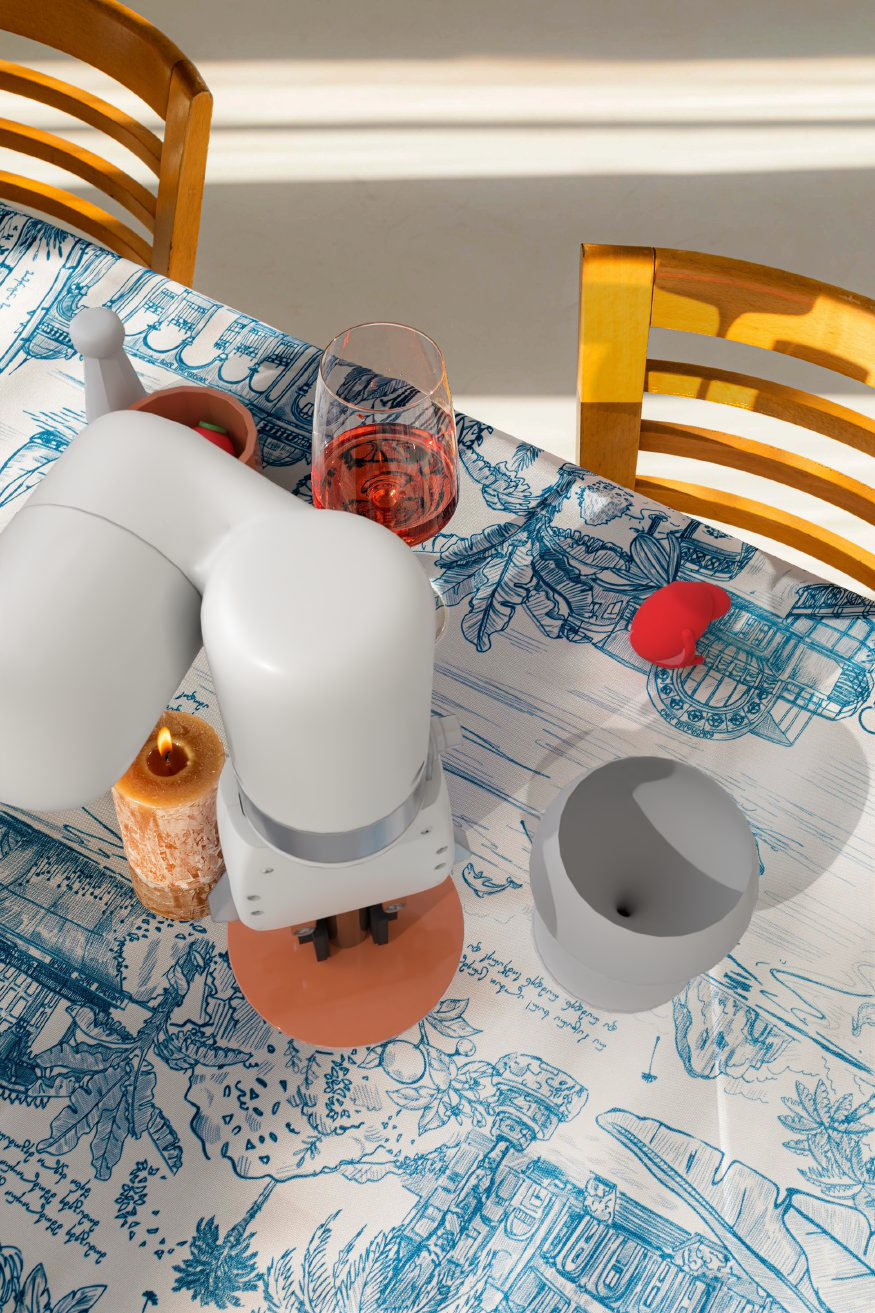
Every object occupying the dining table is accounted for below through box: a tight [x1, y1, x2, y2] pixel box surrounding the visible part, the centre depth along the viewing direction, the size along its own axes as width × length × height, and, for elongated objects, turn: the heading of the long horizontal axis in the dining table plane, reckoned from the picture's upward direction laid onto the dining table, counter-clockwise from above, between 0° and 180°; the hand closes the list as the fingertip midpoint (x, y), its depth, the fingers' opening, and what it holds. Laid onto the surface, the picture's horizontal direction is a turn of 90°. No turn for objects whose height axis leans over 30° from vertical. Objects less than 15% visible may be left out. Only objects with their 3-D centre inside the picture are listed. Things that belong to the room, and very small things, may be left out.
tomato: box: [192, 421, 235, 457], centre depth 101 cm, size 5×5×5 cm
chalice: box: [528, 755, 761, 1015], centre depth 76 cm, size 14×14×15 cm
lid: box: [226, 874, 465, 1050], centre depth 61 cm, size 12×12×7 cm
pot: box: [128, 385, 265, 477], centre depth 99 cm, size 11×11×8 cm
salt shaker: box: [68, 306, 149, 425], centre depth 100 cm, size 6×6×13 cm
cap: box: [627, 580, 732, 670], centre depth 93 cm, size 8×6×6 cm
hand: (345, 925), depth 62 cm, fingers closed on lid, 2 cm apart
